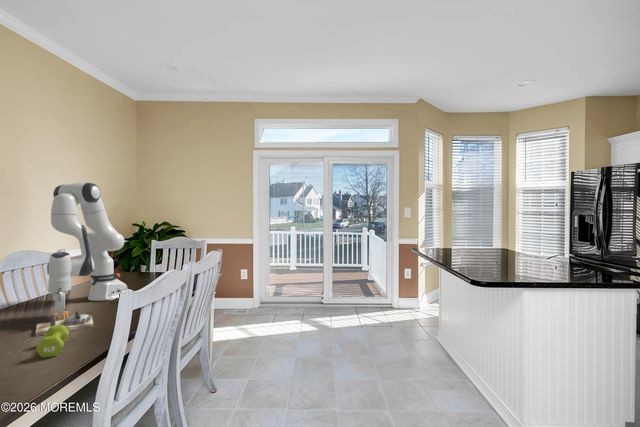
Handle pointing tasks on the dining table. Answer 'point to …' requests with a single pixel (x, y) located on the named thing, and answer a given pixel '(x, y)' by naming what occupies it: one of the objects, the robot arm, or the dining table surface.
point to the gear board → (66, 323)
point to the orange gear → (64, 315)
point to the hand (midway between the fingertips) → (59, 315)
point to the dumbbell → (52, 341)
